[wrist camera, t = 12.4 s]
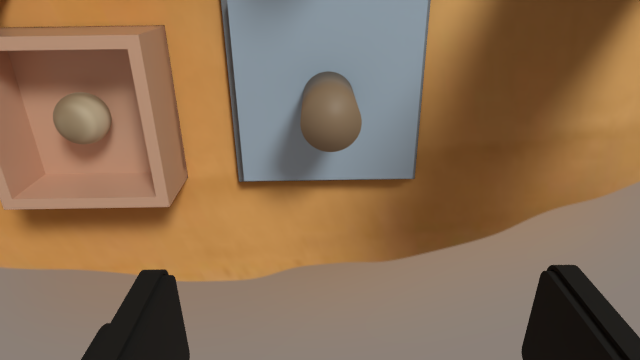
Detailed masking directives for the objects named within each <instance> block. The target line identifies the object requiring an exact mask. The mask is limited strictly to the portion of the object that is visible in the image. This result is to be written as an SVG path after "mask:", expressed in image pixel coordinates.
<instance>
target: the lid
mask: <svg viewBox="0 0 640 360" xmlns="http://www.w3.org/2000/svg"><path fill="white" fill-rule="evenodd" d="M227 5H228V15H229V26H230V36H231V47H232V57H233V68H234V78H235V89H236V99H237V110H238V120H239V131H240V141H241V152H242V162H243V173H244V181H284V180H349V179H413V167H414V156H415V144H416V133H417V121H418V110H419V98H420V87H421V75H422V64H423V52H424V41H425V29H426V18H427V6H428V0H227Z"/></svg>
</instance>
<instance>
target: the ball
mask: <svg viewBox="0 0 640 360" xmlns="http://www.w3.org/2000/svg"><path fill="white" fill-rule="evenodd" d="M53 122H54V125H55V127H56V129H57V131H58V132H59V133H60V134H61V135H62V136H63V137H64V138H65V139H67V140H69V141H71V142H73V143H77V144H92V143H95V142H97V141H99V140H101V139H102V138H104V137H105V136H106V134H107V133H108V132H109V130H110V127H111V122H112V117H111V113H110V110H109V108H108V106H107V105H106V104H105V103H104V101H102V100H101V99H100V98H98V97H97V96H95V95H93V94H90V93H85V92H76V93H71V94H69V95H66V96H65V97H63V98H62V99H60V101H59V102H58V103H57V104H56V106H55V108H54V111H53Z"/></svg>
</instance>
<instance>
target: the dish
mask: <svg viewBox="0 0 640 360" xmlns="http://www.w3.org/2000/svg"><path fill="white" fill-rule="evenodd" d="M76 92H85V93H90V94H93V95H95V96H97V97H98V98H100V99H101V100H102V101H104V103H105V104H106V105H107V106H108V108H109V110H110V113H111V117H112V122H111V127H110V130H109V132H108V133H107V134H106V136H105V137H104V138H102V139H101V140H99V141H97V142H95V143H92V144H77V143H73V142H71V141H69V140H67V139H65V138H64V137H63V136H62V135H61V134H60V133H59V132H58V131H57V129H56V127H55V125H54V122H53V111H54V108H55V106H56V104H57V103H58V102H59V101H60V99H62V98H63V97H65V96H66V95H69V94H71V93H76ZM187 178H188V174H187V168H186V161H185V155H184V148H183V142H182V135H181V129H180V122H179V116H178V110H177V103H176V97H175V90H174V84H173V77H172V71H171V64H170V58H169V52H168V45H167V39H166V32H165V26H164V25H156V26H82V27H8V28H0V199H1V202H2V205H3V208H4V210H7V209H70V208H134V207H170V205H171V204H172V202H173V200H174V199H175V197H176V196H177V194H178V192H179V191H180V189H181V187H182V186H183V184H184V183H185V181H186V179H187Z"/></svg>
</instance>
